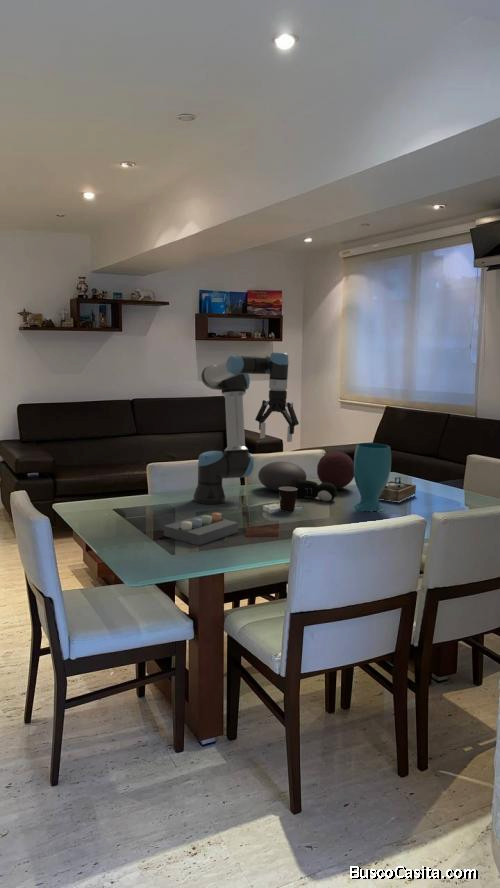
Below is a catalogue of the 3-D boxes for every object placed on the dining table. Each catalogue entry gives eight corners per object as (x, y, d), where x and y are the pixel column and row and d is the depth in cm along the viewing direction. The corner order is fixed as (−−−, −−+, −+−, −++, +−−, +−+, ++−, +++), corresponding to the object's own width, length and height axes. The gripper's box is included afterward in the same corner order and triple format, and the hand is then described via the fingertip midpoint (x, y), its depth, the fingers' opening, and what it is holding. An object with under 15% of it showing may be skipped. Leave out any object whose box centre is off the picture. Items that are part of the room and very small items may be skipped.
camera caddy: (372, 498, 337) (372, 486, 336) (389, 492, 354) (390, 480, 353) (398, 503, 329) (399, 491, 328) (415, 496, 346) (416, 485, 345)
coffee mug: (295, 513, 303) (296, 491, 302) (276, 511, 305) (277, 489, 303) (298, 507, 314) (299, 486, 313) (280, 505, 316) (281, 484, 314)
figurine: (292, 486, 329) (332, 491, 321) (298, 475, 335) (337, 479, 328) (294, 501, 334) (333, 506, 327) (300, 489, 341) (338, 494, 334)
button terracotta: (209, 522, 272) (209, 513, 271) (215, 520, 275) (215, 511, 274) (216, 524, 269) (217, 515, 269) (223, 522, 273) (223, 513, 272)
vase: (343, 507, 316) (347, 444, 312) (363, 502, 329) (367, 441, 324) (374, 515, 305) (379, 450, 300) (394, 509, 318) (399, 446, 313)
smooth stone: (291, 498, 331) (292, 468, 329) (248, 490, 344) (249, 462, 342) (313, 489, 352) (315, 461, 350) (272, 483, 365) (273, 456, 363)
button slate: (189, 528, 262) (189, 519, 262) (196, 526, 265) (196, 517, 265) (197, 530, 260) (197, 521, 259) (203, 528, 263) (204, 519, 262)
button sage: (199, 525, 267) (199, 516, 266) (206, 523, 270) (206, 514, 270) (207, 527, 265) (207, 518, 264) (213, 525, 268) (213, 516, 267)
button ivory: (179, 531, 257) (179, 522, 257) (186, 529, 260) (186, 520, 260) (186, 533, 255) (187, 524, 254) (193, 531, 258) (194, 522, 258)
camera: (388, 500, 335) (389, 480, 334) (377, 497, 341) (378, 478, 340) (409, 497, 343) (411, 478, 342) (398, 494, 349) (400, 475, 348)
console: (163, 535, 261) (164, 525, 260) (203, 523, 280) (204, 514, 280) (199, 545, 251) (199, 535, 250) (238, 532, 270) (238, 522, 269)
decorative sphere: (316, 483, 368) (318, 447, 365) (353, 486, 365) (355, 449, 362) (315, 491, 349) (317, 453, 345) (353, 494, 346) (356, 455, 343)
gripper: (248, 387, 285) (246, 437, 289) (298, 392, 271) (296, 444, 275) (258, 387, 292) (256, 435, 295) (308, 391, 277) (305, 442, 281)
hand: (275, 439), depth 285 cm, fingers open, 13 cm apart
